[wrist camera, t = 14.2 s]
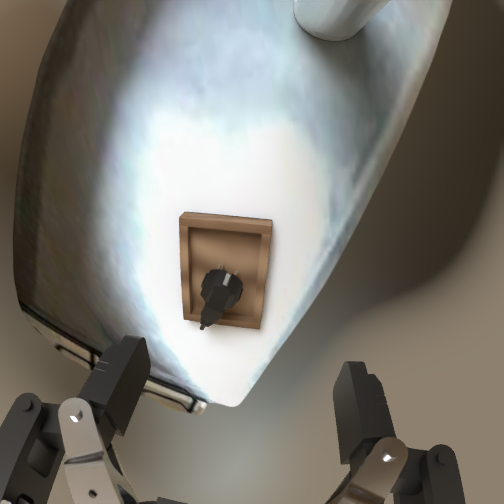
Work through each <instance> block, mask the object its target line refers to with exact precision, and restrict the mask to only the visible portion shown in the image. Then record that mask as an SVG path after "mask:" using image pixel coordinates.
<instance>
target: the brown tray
mask: <svg viewBox="0 0 504 504" xmlns="http://www.w3.org/2000/svg"><path fill="white" fill-rule="evenodd" d="M271 230H272V220H269V219H259V218H249V217H239V216H228V215H217V214H206V213H194V212H184V213H183V214H182V215H181V216H180V217H179V234H180V265H181V286H182V303H183V317H184V320H191V321H197V322H200V319H201V314H200V313H201V311H202V309H203V307H204V305H205V301H204V299H203V298H202V296H201V295H200V293H201V290H202V288H201V284H202V282H203V279H204V277H205V275H206V273H209V272H210V270H213V269H217V267H218V265H219V264H220V263H222V264H223V265H224V267H223V269H222V270H225V271H227V274H229V275H231V274H232V273H233V274H234V272H235V271H236V270H238V271H239V272H240V274H239V276H238V278H239V279H240V280H241V281H242V283H243V287H242V288H243V291H242V294H241V297H240V300H239V301H238V302H237V303H235V305H234V306H233V307H232V308H227V309H224V310H225V311H224V313H223V315H222V316H221V318H220V319H219V321H218V322H217V321H215V323H214V324H219V325H227V326H235V327H243V328H252V329H260V322H261V314H262V306H263V298H264V290H265V281H266V273H267V265H268V256H269V248H270V239H271Z"/></svg>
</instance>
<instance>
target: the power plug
mask: <svg viewBox="0 0 504 504" xmlns="http://www.w3.org/2000/svg"><path fill="white" fill-rule="evenodd" d="M223 267H224V265H223V264H222V263H220V264H219V265H218V267H217V269H213V270H210V272H209V273H206V275H205V277H204V279H203V282H202V284H201V288H202V290H201V293H200V295H201V296H202V298H203V299H204V301H205V305H204V307H203V309H202V311H201V313H200V314H201V319H200V324H202V325H201V327H200V330H204V328H205V326H206V327H209V326H211V325H212V324H214V323H215V321H217V322H218V321H219V319H220V318H221V316H222V315H223V313H224V311H225V310H224V309H227V308H232V307H233V306H234V305H235V303H237V302H238V301H239V300H240V297H241V294H242V291H243V288H242V287H243V283H242V281H241V280H240V279H239V278H238V276H239V274H240V272H239V271H238V270H236V271H235V272H234V274H233V273H232V274H231V275H229V274H227V271H225V270H222V269H223Z"/></svg>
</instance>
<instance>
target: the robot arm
mask: <svg viewBox="0 0 504 504" xmlns="http://www.w3.org/2000/svg"><path fill="white" fill-rule="evenodd" d="M389 1H390V0H295V1H294V9H293V10H294V15H295V18H296V20H297V22H298V23H299V24H300V26H301V27H302V28H303V29H304V30H305V31H307V32H308V33H310V34H311V35H313V36H315V37H317V38H320V39H323V40H327V41H342V40H346V39H349V38H350V37H352V36H354V35H355V34H356V33H357V32H358V31H359V30H360V29H361V28H362V27H363V26H364V25H365V24H366V23H367V22H368V21H369V20H370V19H371V18H372V17H373V16H374V15H376V14H377V13H378V12H379V11H380V10H381V9H382V8H383V7H384V6H385V5H386V4H387V3H388V2H389ZM150 368H151V363H150V358H149V354H148V349H147V345H146V340H145V338H143V337H139V336H134V335H130V334H126V335H125V336H124V338H123V339H122V341H121V343H120V344H119V345H118V344H113V345H111V346H110V347H109V348H108V349H106V350H105V351H104V353H103V354H102V356H101V358H100V359H99V362H97V364H96V366H95V369H93V371H92V372H91V374H90V376H89V377H88V379H87V381H86V383H85V384H84V386H83V388H82V389H81V391H80V393H79V394H78V396H77V397H76V398H71V399H68V400H66V401H65V402H63V403H62V404H51V403H42V402H41V400H40V399H39V398H38V396H36V395H35V394H33V393H24V394H22V395H20V396H19V397H18V398H17V399H16V400H15V402H14V404H13V405H12V407H11V409H10V410H9V412H8V414H7V416H6V418H5V420H4V421H3V423H2V425H1V427H0V504H47V501H48V498H49V495H50V492H51V489H52V486H53V483H54V480H55V477H56V475H57V472H58V469H59V466H60V464H61V461H62V459H63V456H64V454H65V452H66V456H67V461H66V462H64V470H65V474H66V478H67V481H68V484H69V488H70V491H71V494H72V497H73V500H74V503H75V504H187V503H182V502H177V501H173V500H169V499H165V498H161V497H158V498H157V501H146V502H139V500H138V498H137V495H136V494H135V492H134V490H133V488H132V486H131V485H130V483H129V482H128V480H127V478H126V476H125V473H124V471H123V469H122V466H121V463H120V461H119V458H118V456H117V453H116V450H115V448H114V445H113V442H112V439H113V437H114V434H117V435H120V436H124V434H125V431H126V429H127V426H128V424H129V421H130V419H131V417H132V414H133V412H134V409H135V407H136V405H137V402H138V400H139V397H140V395H141V393H142V390H143V388H144V386H145V383H146V381H147V379H148V376H149V374H150ZM333 401H334V409H335V417H336V425H337V433H338V441H339V450H340V460H341V464H350V471H349V473H348V474H347V475H346V477H345V478H344V479H343V481H342V482H341V484H340V485H339V486H338V487H337V489H336V490H335V491H334V493H333V494H332V495H331V496H330V498H329V499H328V500H327V501H326V503H325V504H384V501H385V499H386V497H387V496H388V494H389V493H393V497H394V504H465V498H464V492H463V487H462V482H461V477H460V473H459V469H458V464H457V460H456V456H455V453H454V451H453V450H452V449H451V448H450V447H449V446H446V445H442V444H440V445H436V446H434V447H432V448H431V449H430V450H429V451H426V450H418V449H412V448H408V447H406V445H405V444H404V443H403V442H402V441H401V440H400V439H398V438H397V437H396V435H395V431H394V427H393V423H392V420H391V416H390V412H389V408H388V405H387V401H386V397H385V396H384V391H383V387H382V384H381V382H380V381H379V380H378V378H377V377H376V376H375V375H374V374H368V373H367V369H366V366H365V363H364V362H356V361H351V362H350V361H346V362H345V363H344V364H343V367H342V369H341V371H340V374H339V376H338V378H337V380H336V382H335V385H334V389H333Z"/></svg>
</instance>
